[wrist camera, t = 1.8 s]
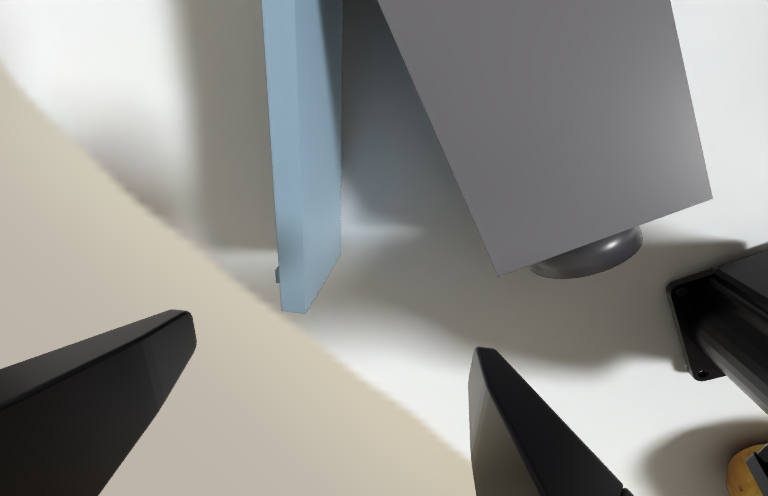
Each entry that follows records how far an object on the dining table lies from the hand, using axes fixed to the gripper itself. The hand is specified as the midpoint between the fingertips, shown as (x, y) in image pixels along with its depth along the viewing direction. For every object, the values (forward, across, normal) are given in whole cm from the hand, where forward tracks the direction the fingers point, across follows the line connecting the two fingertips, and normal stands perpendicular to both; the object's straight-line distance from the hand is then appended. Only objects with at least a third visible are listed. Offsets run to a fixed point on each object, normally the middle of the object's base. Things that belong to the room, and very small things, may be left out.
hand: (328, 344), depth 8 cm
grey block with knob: (+12, -4, -8) cm, 15 cm away
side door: (+12, +3, -4) cm, 13 cm away
